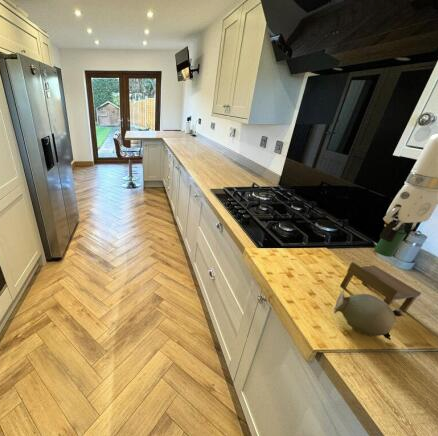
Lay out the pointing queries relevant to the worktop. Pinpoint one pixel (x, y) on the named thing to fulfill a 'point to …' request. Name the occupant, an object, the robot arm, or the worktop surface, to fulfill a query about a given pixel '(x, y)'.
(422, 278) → the worktop surface
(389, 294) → the rack
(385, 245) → the bottle
